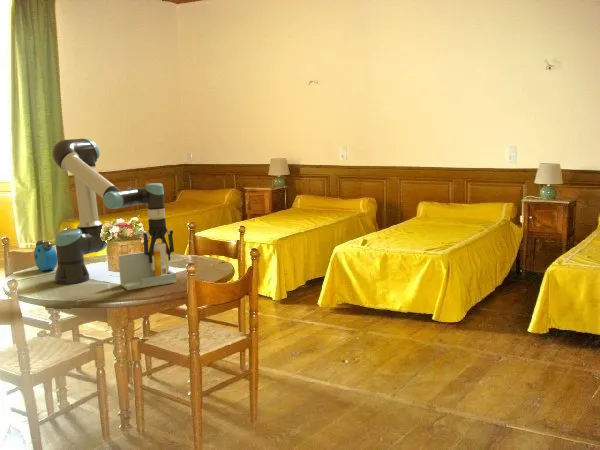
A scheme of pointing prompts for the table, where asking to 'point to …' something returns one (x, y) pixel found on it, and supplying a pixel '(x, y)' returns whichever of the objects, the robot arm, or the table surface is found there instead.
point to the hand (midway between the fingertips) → (160, 268)
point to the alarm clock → (45, 255)
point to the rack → (140, 272)
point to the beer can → (160, 259)
